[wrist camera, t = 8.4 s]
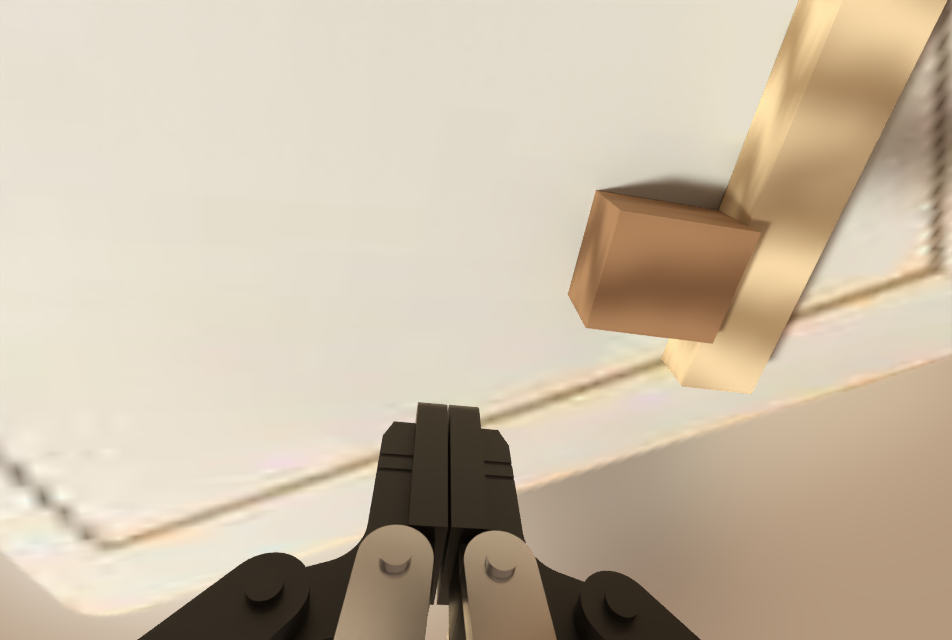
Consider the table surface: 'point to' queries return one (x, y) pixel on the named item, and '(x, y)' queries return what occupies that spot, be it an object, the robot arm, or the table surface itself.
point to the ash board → (804, 167)
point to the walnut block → (659, 267)
